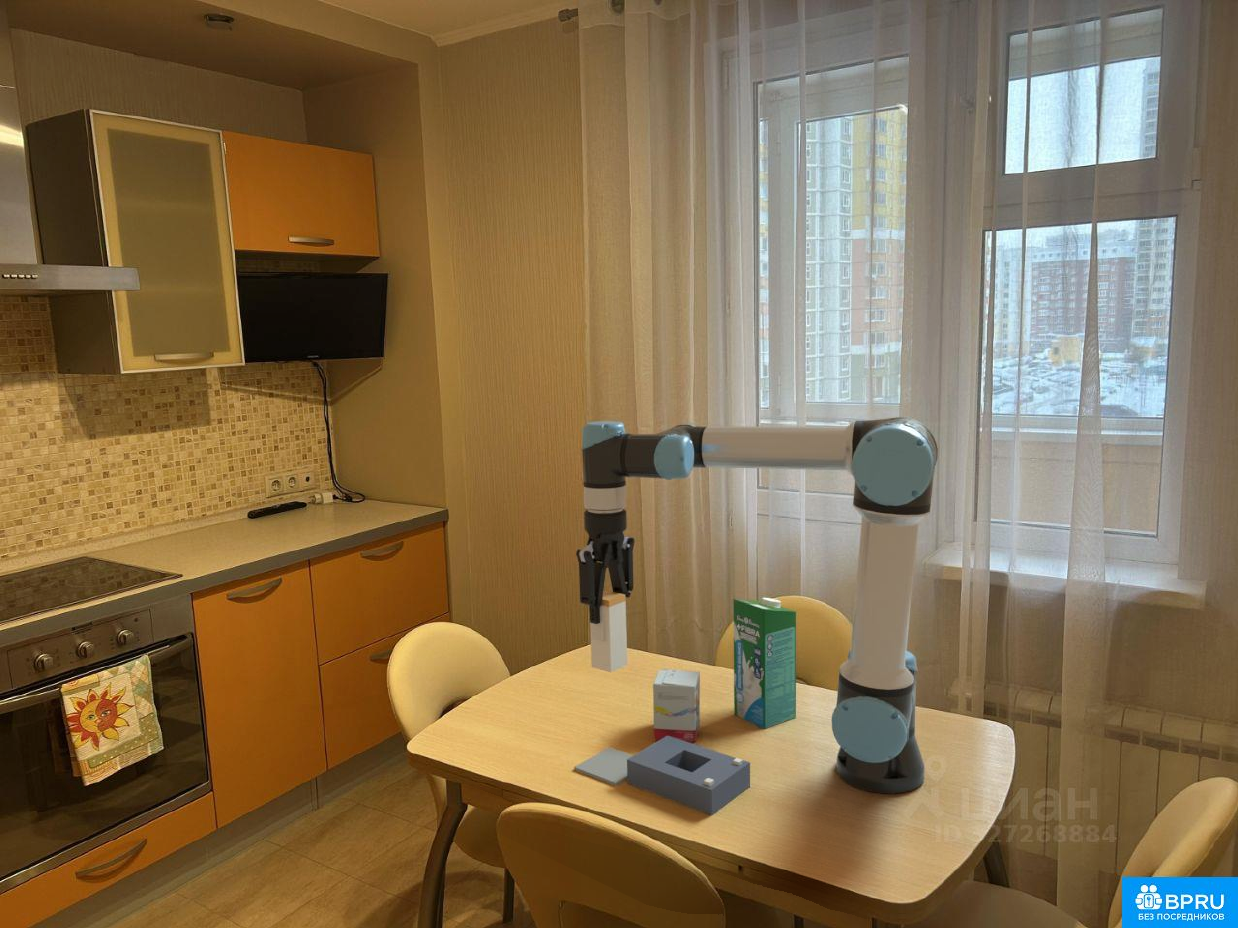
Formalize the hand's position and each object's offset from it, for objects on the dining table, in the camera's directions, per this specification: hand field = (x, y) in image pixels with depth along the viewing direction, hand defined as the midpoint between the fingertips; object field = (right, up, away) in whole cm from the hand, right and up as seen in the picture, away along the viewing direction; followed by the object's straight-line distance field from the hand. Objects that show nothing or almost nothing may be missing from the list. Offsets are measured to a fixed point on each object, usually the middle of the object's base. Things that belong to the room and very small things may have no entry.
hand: (608, 635), depth 165 cm
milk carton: (+32, -21, +24) cm, 45 cm away
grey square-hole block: (+14, -26, -3) cm, 30 cm away
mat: (+1, -25, +4) cm, 25 cm away
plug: (0, -6, +1) cm, 6 cm away
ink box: (+14, -23, +18) cm, 32 cm away
